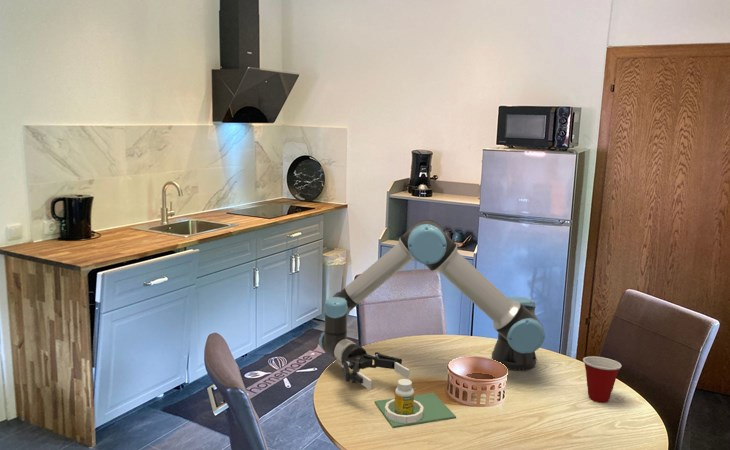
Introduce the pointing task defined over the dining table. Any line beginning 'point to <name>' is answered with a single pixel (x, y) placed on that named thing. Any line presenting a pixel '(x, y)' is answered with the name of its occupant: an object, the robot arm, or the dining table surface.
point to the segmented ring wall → (404, 418)
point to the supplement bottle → (404, 397)
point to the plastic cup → (600, 377)
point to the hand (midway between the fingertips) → (390, 379)
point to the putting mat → (431, 411)
